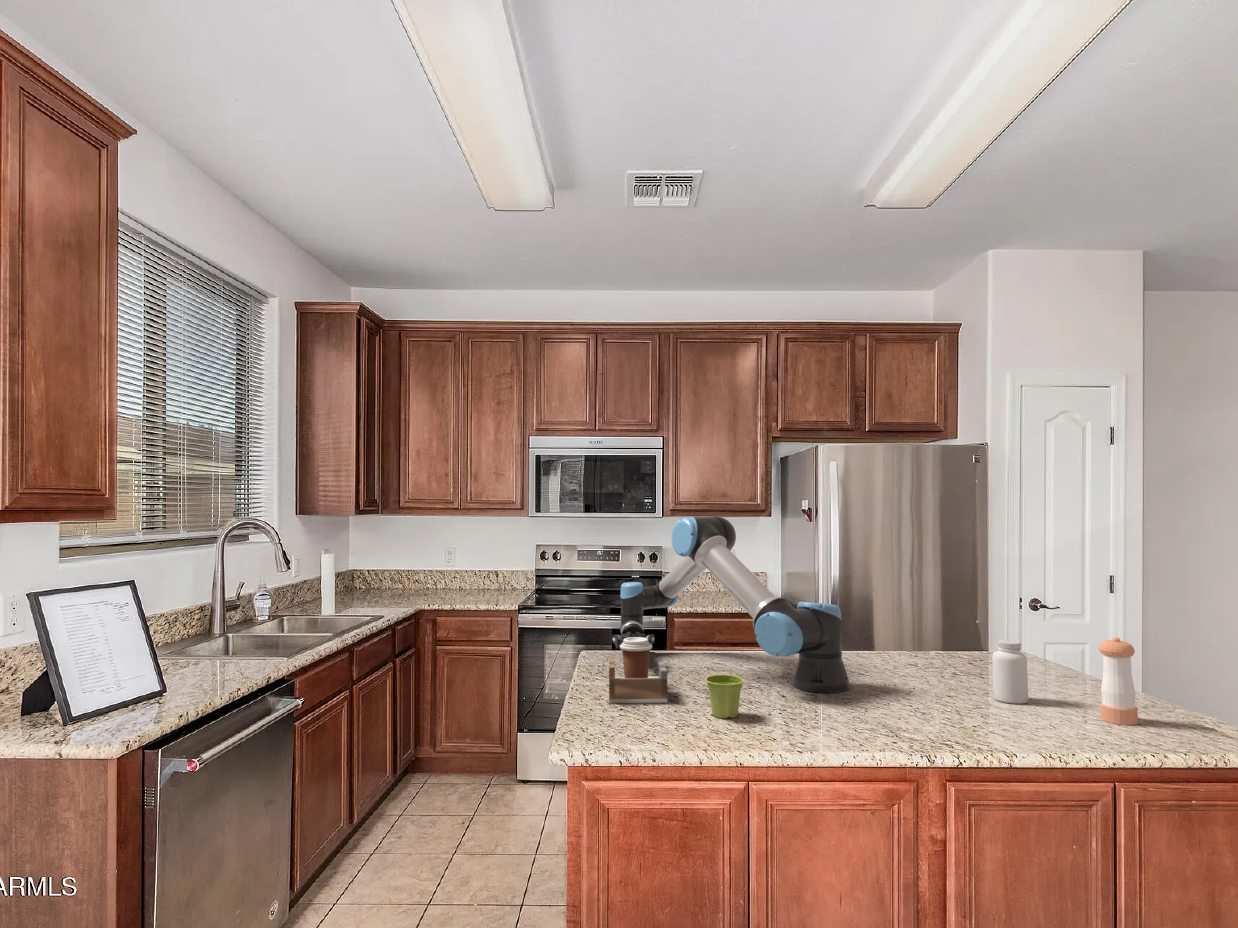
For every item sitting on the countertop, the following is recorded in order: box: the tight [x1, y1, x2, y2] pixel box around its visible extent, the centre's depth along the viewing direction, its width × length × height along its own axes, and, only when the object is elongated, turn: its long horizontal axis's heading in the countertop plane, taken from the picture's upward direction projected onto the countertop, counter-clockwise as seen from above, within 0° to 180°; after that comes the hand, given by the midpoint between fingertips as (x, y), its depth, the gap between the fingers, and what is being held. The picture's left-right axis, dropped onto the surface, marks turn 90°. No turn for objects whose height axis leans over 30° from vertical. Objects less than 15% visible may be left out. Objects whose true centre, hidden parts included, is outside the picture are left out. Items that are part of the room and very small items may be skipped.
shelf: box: [608, 657, 668, 704], centre depth 206 cm, size 24×15×9 cm, turn 1°
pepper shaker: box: [1098, 636, 1139, 726], centre depth 176 cm, size 7×7×19 cm
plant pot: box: [704, 674, 745, 719], centre depth 182 cm, size 9×9×9 cm
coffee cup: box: [619, 637, 653, 678], centre depth 212 cm, size 9×9×12 cm
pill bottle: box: [991, 639, 1029, 705], centre depth 194 cm, size 8×8×15 cm
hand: (634, 648), depth 221 cm, fingers open, 3 cm apart
